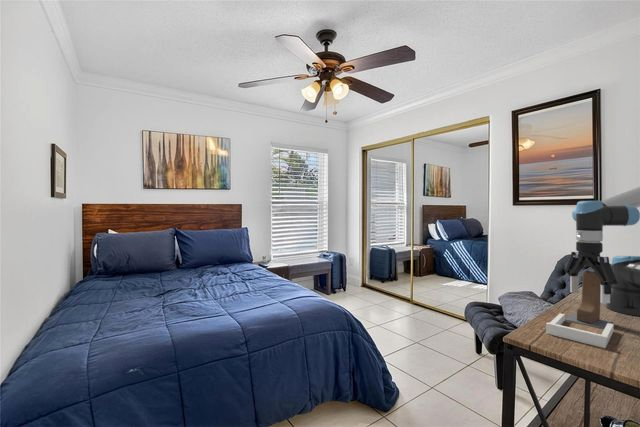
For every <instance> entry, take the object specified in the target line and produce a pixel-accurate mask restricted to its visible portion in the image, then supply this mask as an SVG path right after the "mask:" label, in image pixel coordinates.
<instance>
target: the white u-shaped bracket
mask: <svg viewBox="0 0 640 427" xmlns="http://www.w3.org/2000/svg"><path fill="white" fill-rule="evenodd" d="M565 316H566V315H565V313H561V312H560V313H558V314H557V315H556V316H555V317H554V318H553V319H552V320H551V321H550V322H546V324H545V334H547V335H552V336H554V337H559V338H563V339H566V340H571V341H574V342H579V343H582V344H586V345H591V346H594V347H599V348H601V349H606V348H607V346H608V344H609V341H610V340H611V337H612V335H613V333H614V329H615V328H614V327H615V326H614V323H611V324H610V323H607V325H606V327H605V329H603V330H602V333H601V334H600V333H595V332H592V331H587V330H584V329H579V328H574V327H569V326H565V325H562V324H563V323H564V322H565V319H566V317H565Z"/></svg>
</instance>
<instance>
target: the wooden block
mask: <svg viewBox="0 0 640 427" xmlns="http://www.w3.org/2000/svg"><path fill="white" fill-rule="evenodd" d="M601 284H602V282H601V280H600V279H599V277H598V275H597V274H596V272H595V271H592V270H585V271H583V272H582V284H581V285H582V288H581V302H580V305H579V307H578V308H577V309H576V314H577V320H578V321H582V322H586V323H589V324H592V323H594V322H595V321H597V320H599V319H601V318H600V316H601V303H600V292H601Z"/></svg>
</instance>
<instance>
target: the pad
mask: <svg viewBox="0 0 640 427" xmlns="http://www.w3.org/2000/svg"><path fill="white" fill-rule="evenodd" d="M565 321H566V322H570V323H576V324H580V325H584V326H589V327H592V328H593V327H594V328H598V329H601V330H604V329H605V327H606V325H607V323H610V324H613V323H612V322H613V321H612V320H608V319H603V318H600V319H599V320H597V321H595V322H594V323H592V324H589V323H586V322H582V321H578V320H577V313H574V312H570V313H569V315H567V317H565ZM565 321H564V322H565Z"/></svg>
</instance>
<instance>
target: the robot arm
mask: <svg viewBox="0 0 640 427" xmlns="http://www.w3.org/2000/svg"><path fill="white" fill-rule="evenodd" d="M638 208H640V186H638V187H635V188H632V189H629V190H627V191H624V192H621V193H620V194H619V193H618V194H616V195H614V196H611V197H609V198H605V199H603V200H580V201H578V202H577V203H576V207H575V208H574V209H573V211H572V214H571V216H572V220H574V222H575V226H576V228H575V229H576V233H575V234H576V236H575V238H576V240H577V241H576V244H575V251H571V254H570V258H569V260H568V262H567V265H566V267H565V270H564V273H565V274H568V277H569V292H570V293H572V294H573V293H575V294H576V293H579V291H580V290H579V288H580V286H579V283H580V282H579V279H580V278H579V274H580V272H581V271H582V270H583V269H584V268H585V266H586V267H589V268H591V269H592V270H594V271H593V272H596V274H597V275H598V277H599V279H600V280H601V292H600V304H605V307H606V309H608V310H611V311H612V312H618V313H620V314H625V315H629V316H630V315H631V316H636V317H640V255H615V256H612V258H611V264H610V258H609V256H601V253H603V251H604V250H603V245H604V244H603V243H602V242H603V240H604V239H603V238H604V235H603V232H604V231H603V230H604V226H610V227H617V226H618V227H621V226H622V227H626V226H627V227H628V226H634V225H636V224H638V222H639V221H640V211H639V209H638Z"/></svg>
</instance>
